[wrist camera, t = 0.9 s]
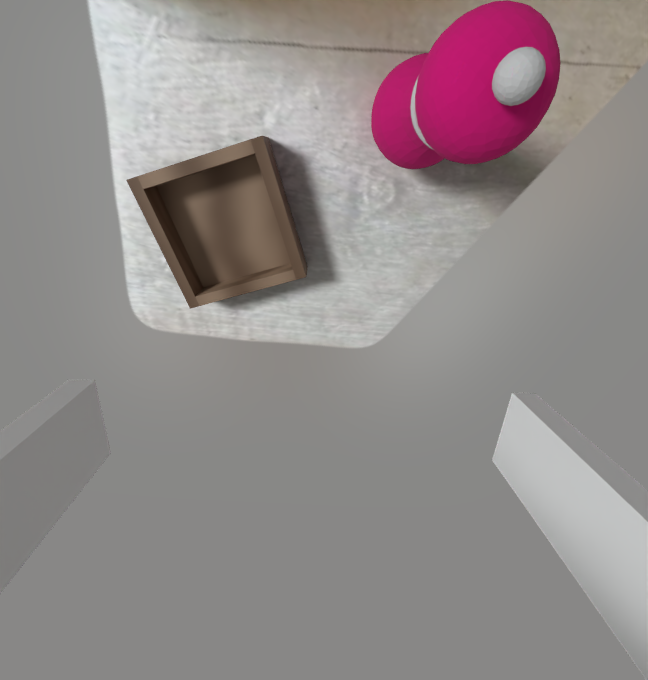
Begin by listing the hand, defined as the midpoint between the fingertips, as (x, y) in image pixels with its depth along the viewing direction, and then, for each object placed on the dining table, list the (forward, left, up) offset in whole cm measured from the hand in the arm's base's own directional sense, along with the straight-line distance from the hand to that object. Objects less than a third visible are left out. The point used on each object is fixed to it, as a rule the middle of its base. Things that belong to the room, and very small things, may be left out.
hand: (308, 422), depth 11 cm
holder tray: (+8, -4, -27) cm, 28 cm away
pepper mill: (-10, -8, -27) cm, 30 cm away
